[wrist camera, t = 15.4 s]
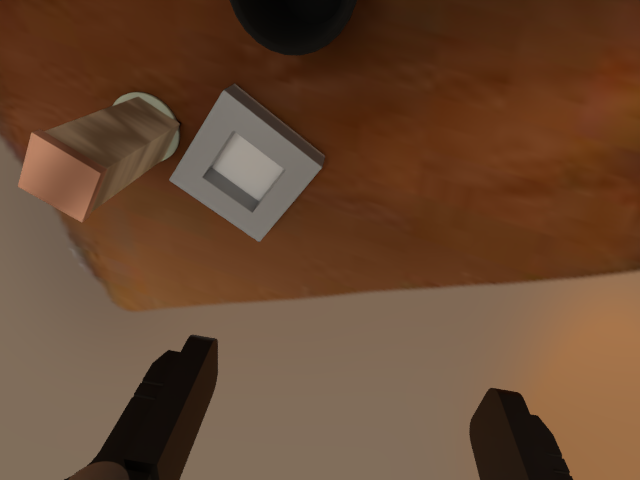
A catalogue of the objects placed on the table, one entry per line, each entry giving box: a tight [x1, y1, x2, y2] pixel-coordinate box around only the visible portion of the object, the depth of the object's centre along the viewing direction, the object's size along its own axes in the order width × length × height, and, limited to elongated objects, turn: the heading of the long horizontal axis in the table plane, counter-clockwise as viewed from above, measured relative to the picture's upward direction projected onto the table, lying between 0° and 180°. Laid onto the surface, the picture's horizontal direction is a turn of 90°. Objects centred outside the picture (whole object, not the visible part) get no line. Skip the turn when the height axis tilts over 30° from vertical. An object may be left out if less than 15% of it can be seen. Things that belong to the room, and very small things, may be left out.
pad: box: [113, 92, 180, 161], centre depth 39 cm, size 7×7×1 cm
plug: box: [18, 96, 180, 222], centre depth 33 cm, size 5×5×14 cm
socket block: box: [169, 84, 325, 242], centre depth 38 cm, size 11×11×3 cm
